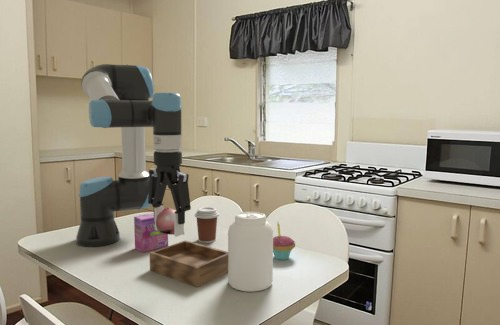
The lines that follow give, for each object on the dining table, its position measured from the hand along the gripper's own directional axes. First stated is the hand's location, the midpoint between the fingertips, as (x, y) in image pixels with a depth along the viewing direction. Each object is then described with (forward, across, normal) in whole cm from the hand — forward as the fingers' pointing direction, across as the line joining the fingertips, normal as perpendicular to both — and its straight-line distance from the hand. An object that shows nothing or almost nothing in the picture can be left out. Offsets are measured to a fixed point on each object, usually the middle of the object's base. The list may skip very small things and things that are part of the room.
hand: (169, 232), depth 112 cm
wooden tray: (+15, -2, +10) cm, 18 cm away
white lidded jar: (+15, +18, +14) cm, 27 cm away
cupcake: (+15, +13, +37) cm, 42 cm away
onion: (+1, 0, 0) cm, 1 cm away
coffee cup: (+15, -18, +34) cm, 42 cm away
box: (+15, -28, +16) cm, 36 cm away
